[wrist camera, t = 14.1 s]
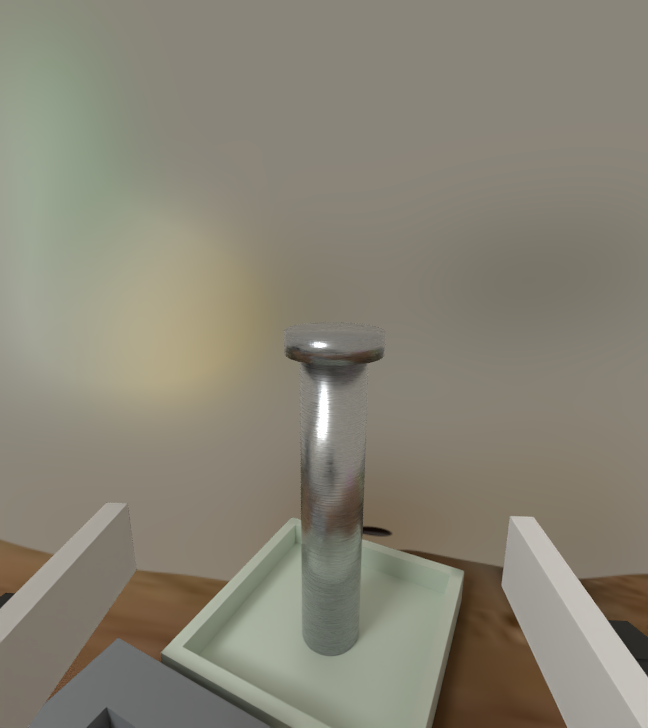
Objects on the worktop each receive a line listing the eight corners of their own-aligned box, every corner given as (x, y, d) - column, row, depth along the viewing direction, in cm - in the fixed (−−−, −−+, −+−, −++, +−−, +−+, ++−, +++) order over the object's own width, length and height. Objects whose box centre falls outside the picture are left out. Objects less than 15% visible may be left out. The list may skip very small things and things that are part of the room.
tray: (165, 687, 24) (160, 652, 23) (292, 542, 36) (291, 517, 35) (406, 837, 18) (409, 793, 17) (461, 600, 30) (464, 571, 29)
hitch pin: (273, 645, 25) (264, 333, 20) (313, 587, 30) (314, 320, 25) (352, 684, 23) (362, 344, 18) (383, 615, 28) (398, 327, 23)
